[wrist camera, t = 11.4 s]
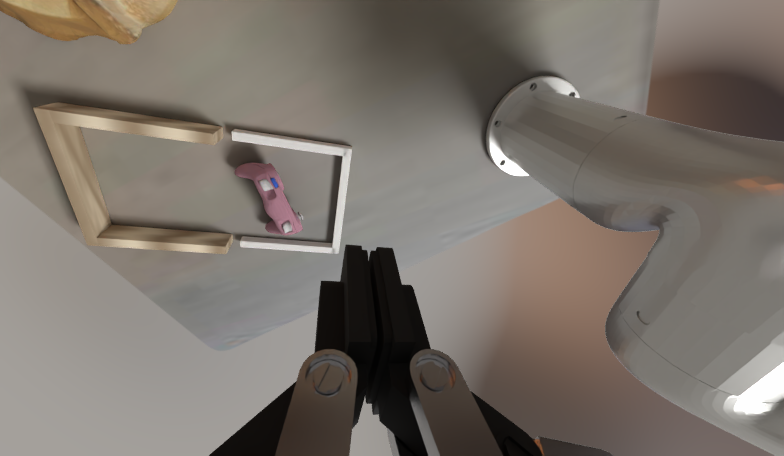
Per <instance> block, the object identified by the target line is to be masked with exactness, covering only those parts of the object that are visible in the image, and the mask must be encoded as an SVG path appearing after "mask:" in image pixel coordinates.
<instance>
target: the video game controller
mask: <svg viewBox="0 0 784 456" xmlns="http://www.w3.org/2000/svg"><path fill="white" fill-rule="evenodd" d="M235 175H237V176H238V177H242V178H248V179H251V180H253V181H254V183H255V185H256V187H257V190H258V192H259V194H260V195H261V197H262V199H263V205H264V208H265V211H266V213H267V214H268V215H269V216H270V217H271V218H272V219H273V221H271V222H269V223H267V224H266V227H265V229H266V230H267V231H268V232H270V233H276V234H282V235H291V234H294V233H298V232H299V231H301V230H303V229H302V225H301V222H300V221H301V220H302V221H303V216H302V214H301V213H299V212H298V214H297V213H295V212H294V211H293V209H292V208H291V207H290V205H289V203H288V201H287V199H286V197H285V195H284V193H283V190H284V186H283V184H282V181H281V179H280V176H279V174H278V173H277V172H276V170H275V168H274V167H273V166H272V164H270V163H269V164H262V163H246V164H242V165H240V166H238V167H237V168H236V169H235ZM300 218H301V219H300Z"/></svg>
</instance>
